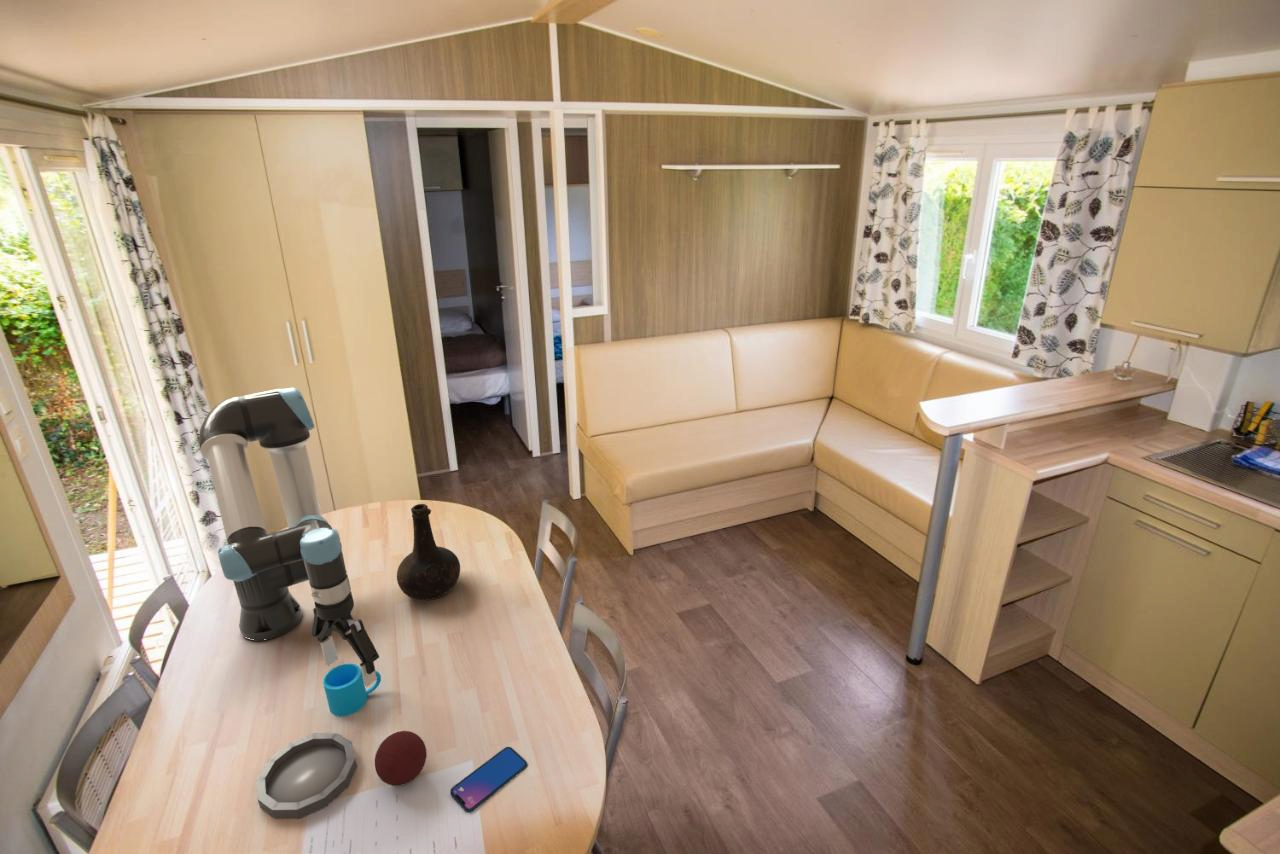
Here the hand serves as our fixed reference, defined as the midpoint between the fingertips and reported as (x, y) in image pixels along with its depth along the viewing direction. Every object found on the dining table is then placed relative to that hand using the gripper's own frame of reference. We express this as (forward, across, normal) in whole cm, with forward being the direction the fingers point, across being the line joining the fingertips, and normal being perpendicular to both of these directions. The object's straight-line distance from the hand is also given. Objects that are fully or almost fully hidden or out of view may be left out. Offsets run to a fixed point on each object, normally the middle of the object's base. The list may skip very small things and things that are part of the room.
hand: (351, 672), depth 149 cm
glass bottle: (+8, -16, +39) cm, 43 cm away
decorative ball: (+9, +26, -9) cm, 29 cm away
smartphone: (+10, +42, -1) cm, 43 cm away
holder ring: (+9, +8, -19) cm, 22 cm away
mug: (+9, 0, 0) cm, 9 cm away
